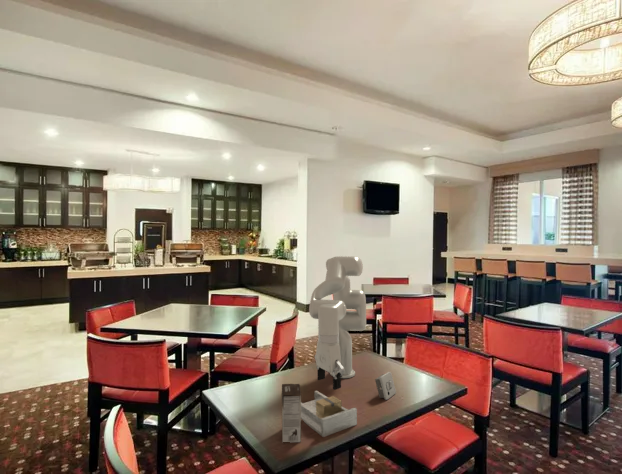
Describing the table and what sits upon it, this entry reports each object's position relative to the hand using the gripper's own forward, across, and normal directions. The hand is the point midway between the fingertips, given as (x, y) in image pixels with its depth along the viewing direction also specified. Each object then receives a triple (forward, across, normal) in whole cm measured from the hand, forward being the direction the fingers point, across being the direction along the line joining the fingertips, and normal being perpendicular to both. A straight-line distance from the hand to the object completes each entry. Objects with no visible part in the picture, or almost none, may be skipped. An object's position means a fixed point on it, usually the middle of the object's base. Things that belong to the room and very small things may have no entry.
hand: (328, 383), depth 134 cm
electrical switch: (+15, -4, +33) cm, 37 cm away
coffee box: (+14, +1, -17) cm, 22 cm away
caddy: (+14, -4, -1) cm, 15 cm away
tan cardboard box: (+13, +1, -1) cm, 13 cm away
